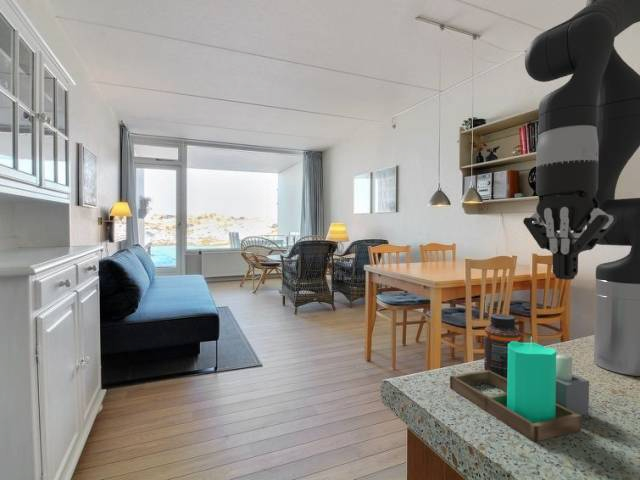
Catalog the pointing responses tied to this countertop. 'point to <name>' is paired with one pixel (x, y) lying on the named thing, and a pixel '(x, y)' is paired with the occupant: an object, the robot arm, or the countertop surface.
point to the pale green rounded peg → (563, 368)
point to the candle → (531, 381)
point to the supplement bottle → (499, 343)
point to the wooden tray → (497, 407)
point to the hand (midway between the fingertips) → (564, 278)
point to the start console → (573, 395)
